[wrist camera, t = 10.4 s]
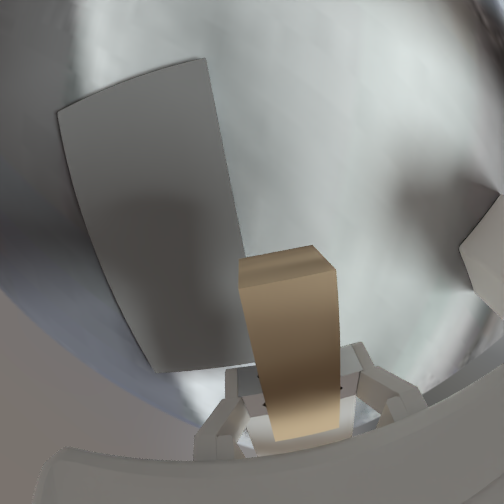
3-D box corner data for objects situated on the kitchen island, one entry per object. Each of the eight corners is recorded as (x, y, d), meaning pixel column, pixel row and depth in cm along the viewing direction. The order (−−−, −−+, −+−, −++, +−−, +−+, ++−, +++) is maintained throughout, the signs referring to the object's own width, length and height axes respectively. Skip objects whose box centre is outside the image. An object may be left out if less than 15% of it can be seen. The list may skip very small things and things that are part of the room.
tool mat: (62, 112, 12) (57, 112, 11) (206, 60, 12) (205, 57, 11) (157, 367, 20) (155, 373, 20) (266, 354, 20) (266, 360, 20)
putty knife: (202, 265, 11) (189, 297, 8) (346, 238, 11) (378, 260, 8) (262, 461, 15) (265, 494, 12) (345, 444, 15) (356, 475, 12)
